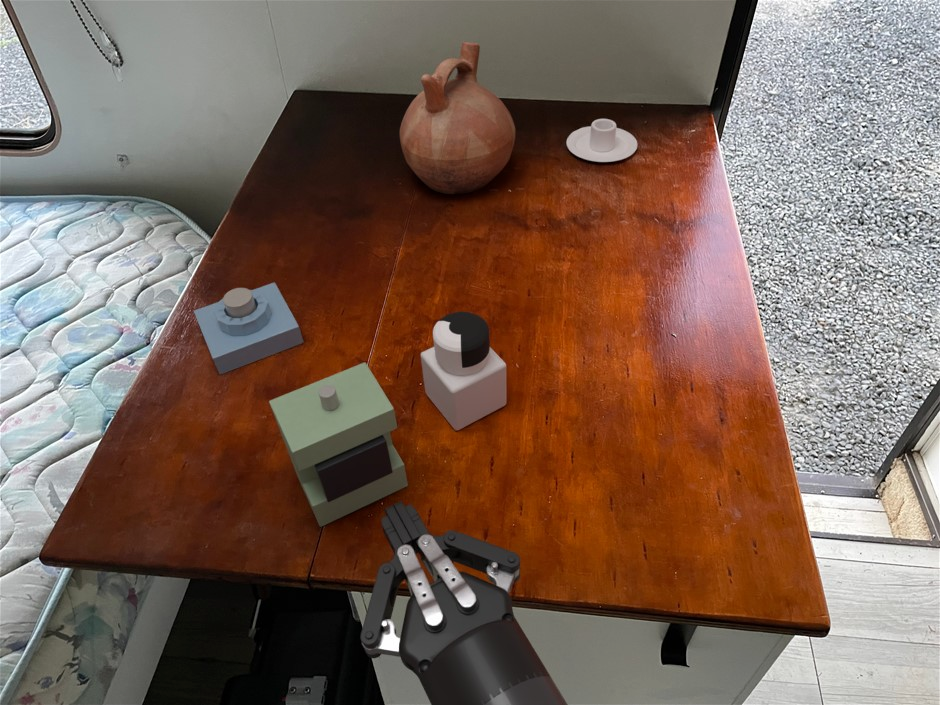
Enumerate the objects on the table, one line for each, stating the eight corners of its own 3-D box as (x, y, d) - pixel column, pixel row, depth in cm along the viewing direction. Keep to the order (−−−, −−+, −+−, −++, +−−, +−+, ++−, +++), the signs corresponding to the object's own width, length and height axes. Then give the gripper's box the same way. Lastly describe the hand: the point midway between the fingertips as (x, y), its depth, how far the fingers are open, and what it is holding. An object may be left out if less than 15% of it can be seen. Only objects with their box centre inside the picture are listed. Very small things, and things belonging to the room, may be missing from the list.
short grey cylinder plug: (231, 322, 88) (227, 310, 86) (224, 305, 90) (219, 293, 89) (259, 312, 89) (255, 300, 87) (251, 296, 91) (247, 283, 90)
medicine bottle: (474, 368, 87) (470, 295, 78) (507, 405, 83) (507, 332, 74) (424, 393, 85) (414, 320, 76) (455, 433, 80) (449, 360, 72)
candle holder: (564, 130, 126) (565, 107, 123) (632, 128, 125) (635, 105, 122) (568, 166, 118) (569, 142, 115) (641, 165, 117) (644, 141, 114)
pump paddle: (328, 502, 70) (317, 471, 66) (324, 495, 70) (313, 463, 66) (393, 472, 72) (386, 440, 68) (389, 465, 72) (382, 433, 68)
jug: (477, 220, 108) (472, 95, 94) (382, 189, 115) (364, 68, 101) (534, 163, 119) (537, 43, 105) (444, 137, 126) (435, 22, 112)
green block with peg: (320, 527, 73) (287, 439, 62) (297, 477, 77) (263, 386, 66) (408, 486, 76) (391, 394, 65) (382, 440, 80) (362, 347, 69)
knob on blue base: (219, 375, 88) (207, 347, 84) (200, 327, 94) (188, 299, 91) (303, 342, 91) (295, 314, 88) (279, 298, 98) (271, 270, 94)
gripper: (596, 641, 44) (465, 446, 55) (403, 757, 40) (303, 522, 51) (588, 685, 49) (469, 499, 60) (417, 791, 45) (323, 571, 56)
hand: (393, 510), depth 56 cm, fingers closed
